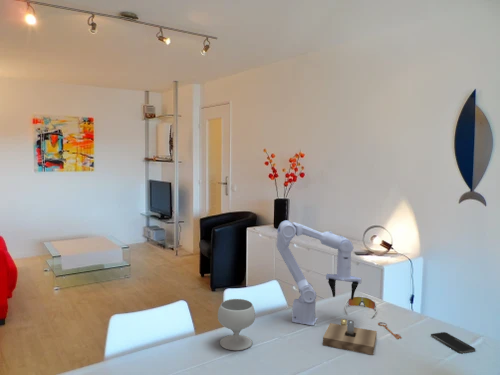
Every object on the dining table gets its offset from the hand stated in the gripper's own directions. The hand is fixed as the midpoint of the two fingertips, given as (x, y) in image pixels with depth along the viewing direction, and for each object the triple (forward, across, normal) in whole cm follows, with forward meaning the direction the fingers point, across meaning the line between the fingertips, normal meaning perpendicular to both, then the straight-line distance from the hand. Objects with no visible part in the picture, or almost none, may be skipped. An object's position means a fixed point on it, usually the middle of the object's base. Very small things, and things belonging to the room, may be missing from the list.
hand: (343, 297), depth 167 cm
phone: (+11, +42, -3) cm, 43 cm away
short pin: (+10, +2, -8) cm, 13 cm away
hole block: (+10, +6, -18) cm, 22 cm away
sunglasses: (+11, +6, +15) cm, 20 cm away
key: (+11, +20, -1) cm, 23 cm away
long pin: (+10, +6, -18) cm, 22 cm away
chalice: (+10, -33, -37) cm, 51 cm away
